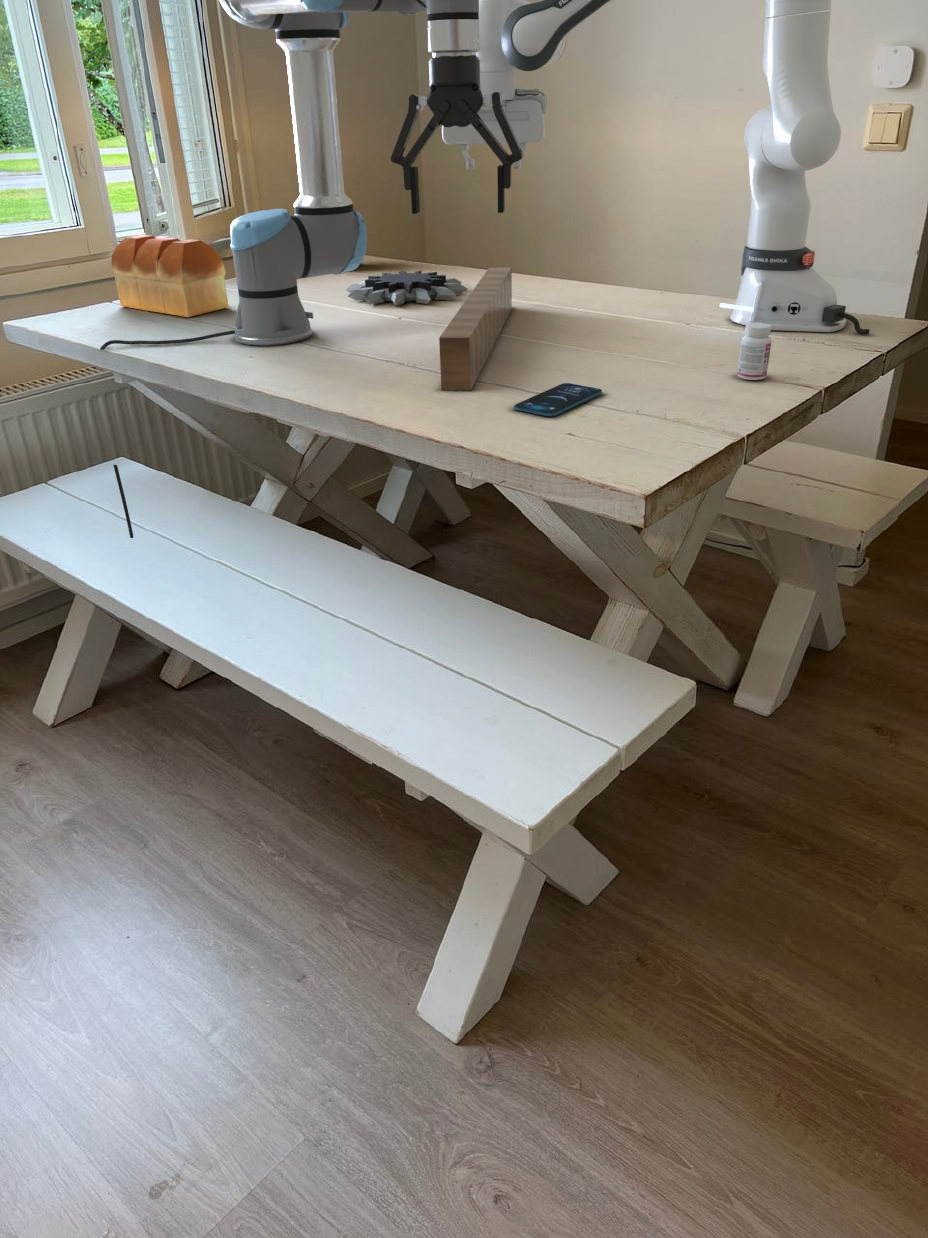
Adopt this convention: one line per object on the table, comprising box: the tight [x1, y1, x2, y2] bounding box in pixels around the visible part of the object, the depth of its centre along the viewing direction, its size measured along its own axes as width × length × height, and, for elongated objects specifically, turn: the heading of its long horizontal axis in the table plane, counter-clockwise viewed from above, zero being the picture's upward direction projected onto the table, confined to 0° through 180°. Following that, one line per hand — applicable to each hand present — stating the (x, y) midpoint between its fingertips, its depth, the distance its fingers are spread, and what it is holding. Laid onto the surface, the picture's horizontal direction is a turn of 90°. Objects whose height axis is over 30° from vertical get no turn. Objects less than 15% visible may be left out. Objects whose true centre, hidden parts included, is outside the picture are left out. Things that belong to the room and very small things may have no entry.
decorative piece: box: [345, 269, 468, 307], centre depth 224 cm, size 30×4×30 cm
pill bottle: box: [737, 323, 772, 381], centre depth 155 cm, size 5×5×8 cm
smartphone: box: [513, 382, 603, 417], centre depth 148 cm, size 8×1×15 cm
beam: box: [438, 266, 513, 392], centre depth 180 cm, size 64×5×9 cm, turn 171°
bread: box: [111, 234, 230, 318], centre depth 216 cm, size 25×12×15 cm, turn 54°
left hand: (458, 212), depth 149 cm, fingers open, 13 cm apart
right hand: (493, 168), depth 189 cm, fingers open, 8 cm apart
